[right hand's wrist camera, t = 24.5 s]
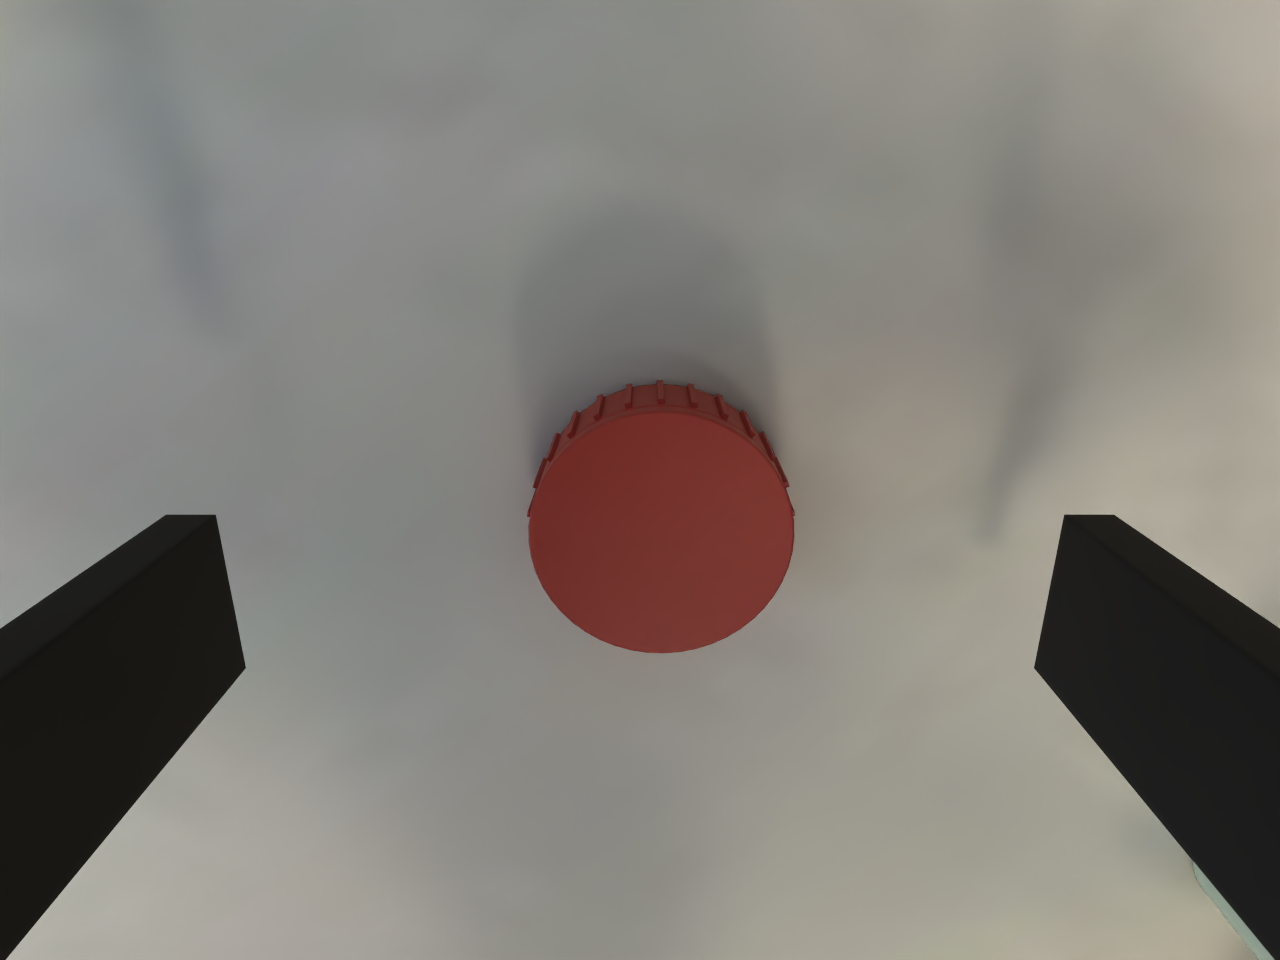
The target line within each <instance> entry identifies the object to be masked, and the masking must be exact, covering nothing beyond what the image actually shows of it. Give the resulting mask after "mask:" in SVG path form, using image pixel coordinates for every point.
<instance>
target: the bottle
mask: <svg viewBox="0 0 1280 960" xmlns="http://www.w3.org/2000/svg"><path fill="white" fill-rule="evenodd" d="M1193 869H1194V873H1195V876H1196V879H1197V881H1198V882H1199V884H1200V886H1201V887H1202V889H1203V890H1204V891H1205V892H1206V894H1207V895H1208V896H1209V898H1210V899H1211V900H1212V901H1213V903H1214V904H1215V905H1216V907H1217V908H1218V909H1219V910H1220V912H1221V913H1222V914H1223V915H1224V917H1225V918H1226V919H1227V921H1228V922H1229V923H1230V924H1231V926H1232V927H1233V928H1234V930H1235V931H1236V932H1237V933H1238V935H1239V936H1240V937H1241V938H1242V940H1243V941H1244V942H1245V944H1246V945H1247V946H1248V947H1249V949H1250V950H1251V951H1252V952H1253V954H1254V955H1255V956H1256V958H1257V959H1258V960H1274V958H1273V957H1272V956H1271V955H1270V954H1269V952H1268V951H1267V950H1266V949H1265V948H1264V946H1263V945H1262V944H1261V943H1260V941H1259V940H1258V939H1257V938H1256V937H1255V935H1254V934H1253V933H1252V932H1251V931H1250V929H1249V928H1248V927H1247V926H1246V924H1245V923H1244V922H1243V921H1242V920H1241V918H1240V917H1239V916H1238V915H1237V914H1236V912H1235V911H1234V910H1233V909H1232V908H1231V906H1230V905H1229V904H1228V903H1227V901H1226V900H1225V899H1224V898H1223V897H1222V895H1221V894H1220V893H1219V892H1218V891H1217V889H1216V888H1215V887H1214V886H1213V884H1212V883H1211V882H1210V881H1209V880H1208V878H1207V877H1206V876H1205V875H1204V874H1203V872H1202V871H1201V870H1200V869H1199V867H1198V866H1197V865H1196V864H1195V863H1194V861H1193Z"/></svg>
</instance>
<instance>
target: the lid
mask: <svg viewBox="0 0 1280 960" xmlns="http://www.w3.org/2000/svg"><path fill="white" fill-rule="evenodd" d="M787 487H789V483H788V481H787V479H786V477H785V474H784V472H783V470H782V468H781V466H780V464H779V461H778V459H777V457H775V455H774V452H773V450H772V448H771V446H770V444H769V442H768V439H767V437H766V435H765V434H764V432H761V433H758V432H757V430H756V429H755V428H754V427H753V425H752V424H751V422H750V420H749V417H748V415H747V413H746V412H745V411H744V410H742V411H741V412H740V413H739V412H738V411H737V410H736V409H734V408H733V407H732V406H730V405H729V404H727V403H725V402H724V399H723V397H722V395H720V394H718V393H717V395H716V396H715V397H714V396H712V395H710V394H708V393H705V392H702V391H699V390H696V389H695V388H694V385H693V384H689V383H688V385H687V387H683V386H677V385H663V380H657V384H655V385H643V386H637V387H633V386H632V384H628V385H626V389H624V390H622V391H619V392H616V393H613V394H610V395H608V396H606V397H604V396H603V394H601V395H599V396H598V397H597V401H596V402H595V403H594V404H592V405H591V406H589V407H588V408H586V409H585V410H583V411H582V412H581V413H579V412H578V411H576V412H575V413H574V414H573V416H572V419H571V422H570V424H569V425H568V426H567V427H566V428H565V430H564V431H563V432H562V433H561V434H559V433H556V434H555V436H554V438H553V441H552V444H551V447H550V450H549V452H548V455H547V458H543V460H542V463H541V466H540V468H539V471H538V474H537V477H536V479H535V482H534V485H533V488H536V490H535V493H534V495H533V498H532V501H531V504H530V507H529V509H528V515H527V517H530V519H529V546H530V553H531V558H532V561H533V565H534V568H535V571H536V574H537V576H538V578H539V580H540V582H541V584H542V587H543V588H544V590H545V591H546V593H547V594H548V596H549V597H550V599H551V600H552V602H553V603H554V604H555V605H556V606H557V608H558V609H559V610H560V611H561V612H562V613H563V614H564V615H565V616H566V617H567V618H568V619H569V620H570V621H572V622H573V623H574V624H575V625H577V626H578V627H580V628H581V629H582V630H584V631H585V632H587V633H589V634H590V635H592V636H594V637H596V638H598V639H600V640H602V641H604V642H607V643H609V644H612V645H614V646H618V647H621V648H625V649H629V650H634V651H640V652H647V653H672V652H682V651H687V650H692V649H697V648H700V647H703V646H707V645H710V644H713V643H715V642H717V641H719V640H722V639H724V638H726V637H728V636H729V635H731V634H733V633H735V632H736V631H738V630H740V629H741V628H742V627H744V626H745V625H746V624H748V623H749V622H750V621H751V620H753V619H754V618H755V617H756V616H757V615H758V614H759V613H760V612H761V611H762V610H763V609H764V608H765V606H766V605H767V604H768V603H769V601H770V600H771V599H772V598H773V596H774V595H775V593H776V591H777V590H778V588H779V586H780V585H781V583H782V581H783V579H784V576H785V574H786V572H787V569H788V567H789V563H790V559H791V555H792V551H793V543H794V518H793V516H795V513H794V509H793V507H792V504H791V502H790V499H789V496H788V493H787V490H786V488H787Z"/></svg>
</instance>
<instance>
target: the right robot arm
mask: <svg viewBox="0 0 1280 960" xmlns="http://www.w3.org/2000/svg"><path fill="white" fill-rule="evenodd" d="M245 668H246V666H245V661H244V656H243V651H242V646H241V641H240V636H239V631H238V626H237V621H236V615H235V610H234V605H233V600H232V595H231V590H230V585H229V580H228V575H227V570H226V565H225V560H224V555H223V550H222V544H221V539H220V534H219V529H218V524H217V519H216V515H165V516H164V517H162V518H161V519H159V520H158V521H156V522H155V523H153V524H152V525H151V526H149V527H148V528H146V529H145V530H143V531H142V532H140V533H139V534H137V535H136V536H135V537H133V538H132V539H130V540H129V541H127V542H126V543H124V544H123V545H121V546H120V547H118V548H117V549H116V550H114V551H113V552H111V553H110V554H108V555H107V556H105V557H104V558H102V559H101V560H100V561H98V562H97V563H95V564H94V565H92V566H91V567H89V568H88V569H86V570H85V571H84V572H82V573H81V574H79V575H78V576H76V577H75V578H73V579H72V580H70V581H69V582H68V583H66V584H65V585H63V586H62V587H60V588H59V589H57V590H56V591H54V592H53V593H52V594H50V595H49V596H47V597H46V598H44V599H43V600H41V601H40V602H38V603H37V604H35V605H34V606H33V607H31V608H30V609H28V610H27V611H25V612H24V613H22V614H21V615H19V616H18V617H17V618H15V619H14V620H12V621H11V622H9V623H8V624H6V625H5V626H3V627H2V628H1V629H0V960H6V958H7V957H8V956H9V955H10V954H11V952H12V951H13V950H14V949H15V948H16V946H17V945H18V944H19V943H20V941H21V940H22V939H23V938H24V937H25V935H26V934H27V933H28V932H29V931H30V929H31V928H32V927H33V926H34V924H35V923H36V922H37V921H38V920H39V918H40V917H41V916H42V915H43V914H44V912H45V911H46V910H47V909H48V908H49V906H50V905H51V904H52V903H53V901H54V900H55V899H56V898H57V897H58V895H59V894H60V893H61V892H62V891H63V889H64V888H65V887H66V886H67V884H68V883H69V882H70V881H71V880H72V878H73V877H74V876H75V875H76V874H77V872H78V871H79V870H80V869H81V867H82V866H83V865H84V864H85V863H86V861H87V860H88V859H89V858H90V857H91V855H92V854H93V853H94V852H95V850H96V849H97V848H98V847H99V846H100V844H101V843H102V842H103V841H104V840H105V838H106V837H107V836H108V835H109V833H110V832H111V831H112V830H113V829H114V827H115V826H116V825H117V824H118V823H119V821H120V820H121V819H122V818H123V816H124V815H125V814H126V813H127V812H128V810H129V809H130V808H131V807H132V806H133V804H134V803H135V802H136V801H137V799H138V798H139V797H140V796H141V795H142V793H143V792H144V791H145V790H146V789H147V787H148V786H149V785H150V784H151V782H152V781H153V780H154V779H155V778H156V776H157V775H158V774H159V773H160V772H161V770H162V769H163V768H164V767H165V765H166V764H167V763H168V762H169V761H170V759H171V758H172V757H173V756H174V755H175V753H176V752H177V751H178V750H179V748H180V747H181V746H182V745H183V744H184V742H185V741H186V740H187V739H188V738H189V736H190V735H191V734H192V733H193V731H194V730H195V729H196V728H197V727H198V725H199V724H200V723H201V722H202V721H203V719H204V718H205V717H206V716H207V714H208V713H209V712H210V711H211V710H212V708H213V707H214V706H215V705H216V704H217V702H218V701H219V700H220V699H221V697H222V696H223V695H224V694H225V693H226V691H227V690H228V689H229V688H230V687H231V685H232V684H233V683H234V682H235V680H236V679H237V678H238V677H239V676H240V674H241V673H242V672H243V671H244V670H245ZM1034 668H1035V670H1036V671H1037V672H1038V673H1039V674H1040V676H1041V677H1042V678H1043V679H1044V680H1045V682H1046V683H1047V684H1048V685H1049V687H1050V688H1051V689H1052V690H1053V691H1054V693H1055V694H1056V695H1057V696H1058V697H1059V699H1060V700H1061V701H1062V702H1063V704H1064V705H1065V706H1066V707H1067V708H1068V710H1069V711H1070V712H1071V713H1072V714H1073V716H1074V717H1075V718H1076V719H1077V721H1078V722H1079V723H1080V724H1081V725H1082V727H1083V728H1084V729H1085V730H1086V731H1087V733H1088V734H1089V735H1090V736H1091V738H1092V739H1093V740H1094V741H1095V742H1096V744H1097V745H1098V746H1099V747H1100V748H1101V750H1102V751H1103V752H1104V753H1105V755H1106V756H1107V757H1108V758H1109V759H1110V761H1111V762H1112V763H1113V764H1114V765H1115V767H1116V768H1117V769H1118V770H1119V772H1120V773H1121V774H1122V775H1123V776H1124V778H1125V779H1126V780H1127V781H1128V782H1129V784H1130V785H1131V786H1132V787H1133V789H1134V790H1135V791H1136V792H1137V793H1138V795H1139V796H1140V797H1141V798H1142V799H1143V801H1144V802H1145V803H1146V804H1147V806H1148V807H1149V808H1150V809H1151V810H1152V812H1153V813H1154V814H1155V815H1156V816H1157V818H1158V819H1159V820H1160V821H1161V823H1162V824H1163V825H1164V826H1165V827H1166V829H1167V830H1168V831H1169V832H1170V833H1171V835H1172V836H1173V837H1174V838H1175V840H1176V841H1177V842H1178V843H1179V844H1180V846H1181V847H1182V848H1183V849H1184V850H1185V852H1186V853H1187V854H1188V855H1189V857H1190V858H1191V859H1192V860H1193V861H1194V863H1195V864H1196V865H1197V866H1198V867H1199V869H1200V870H1201V871H1202V872H1203V874H1204V875H1205V876H1206V877H1207V878H1208V880H1209V881H1210V882H1211V883H1212V884H1213V886H1214V887H1215V888H1216V889H1217V891H1218V892H1219V893H1220V894H1221V895H1222V897H1223V898H1224V899H1225V900H1226V901H1227V903H1228V904H1229V905H1230V906H1231V908H1232V909H1233V910H1234V911H1235V912H1236V914H1237V915H1238V916H1239V917H1240V918H1241V920H1242V921H1243V922H1244V923H1245V924H1246V926H1247V927H1248V928H1249V929H1250V931H1251V932H1252V933H1253V934H1254V935H1255V937H1256V938H1257V939H1258V940H1259V941H1260V943H1261V944H1262V945H1263V946H1264V948H1265V949H1266V950H1267V951H1268V952H1269V954H1270V955H1271V956H1272V957H1273V958H1274V960H1280V629H1279V628H1278V627H1277V626H1275V625H1274V624H1272V623H1271V622H1269V621H1268V620H1266V619H1265V618H1263V617H1262V616H1261V615H1259V614H1258V613H1256V612H1255V611H1253V610H1252V609H1250V608H1249V607H1247V606H1246V605H1245V604H1243V603H1242V602H1240V601H1239V600H1237V599H1236V598H1234V597H1233V596H1231V595H1230V594H1228V593H1227V592H1226V591H1224V590H1223V589H1221V588H1220V587H1218V586H1217V585H1215V584H1214V583H1212V582H1211V581H1210V580H1208V579H1207V578H1205V577H1204V576H1202V575H1201V574H1199V573H1198V572H1196V571H1195V570H1194V569H1192V568H1191V567H1189V566H1188V565H1186V564H1185V563H1183V562H1182V561H1180V560H1179V559H1178V558H1176V557H1175V556H1173V555H1172V554H1170V553H1169V552H1167V551H1166V550H1164V549H1163V548H1162V547H1160V546H1159V545H1157V544H1156V543H1154V542H1153V541H1151V540H1150V539H1148V538H1147V537H1145V536H1144V535H1143V534H1141V533H1140V532H1138V531H1137V530H1135V529H1134V528H1132V527H1131V526H1129V525H1128V524H1127V523H1125V522H1124V521H1122V520H1121V519H1119V518H1118V517H1116V516H1115V515H1064V519H1063V524H1062V529H1061V534H1060V539H1059V544H1058V549H1057V555H1056V560H1055V565H1054V570H1053V575H1052V580H1051V585H1050V590H1049V595H1048V600H1047V605H1046V610H1045V615H1044V621H1043V626H1042V631H1041V636H1040V641H1039V646H1038V651H1037V656H1036V661H1035V666H1034Z"/></svg>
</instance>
